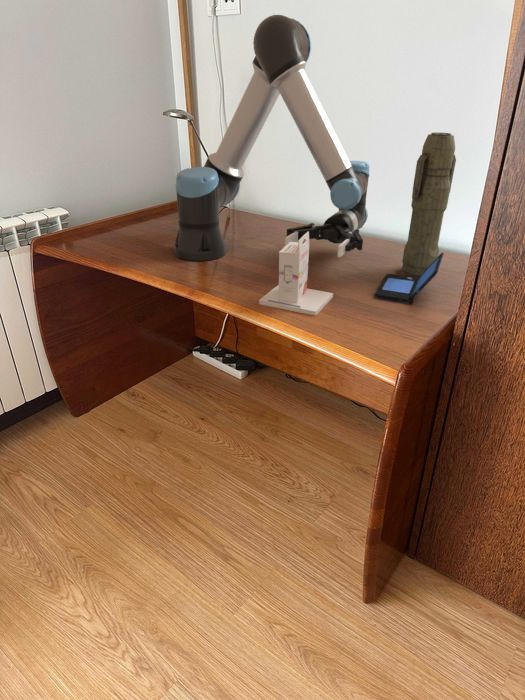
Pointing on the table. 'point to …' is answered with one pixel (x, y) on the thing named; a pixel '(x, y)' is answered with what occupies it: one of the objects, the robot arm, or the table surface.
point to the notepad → (307, 304)
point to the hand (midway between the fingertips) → (312, 247)
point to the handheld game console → (406, 284)
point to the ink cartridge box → (293, 270)
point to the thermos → (429, 202)
